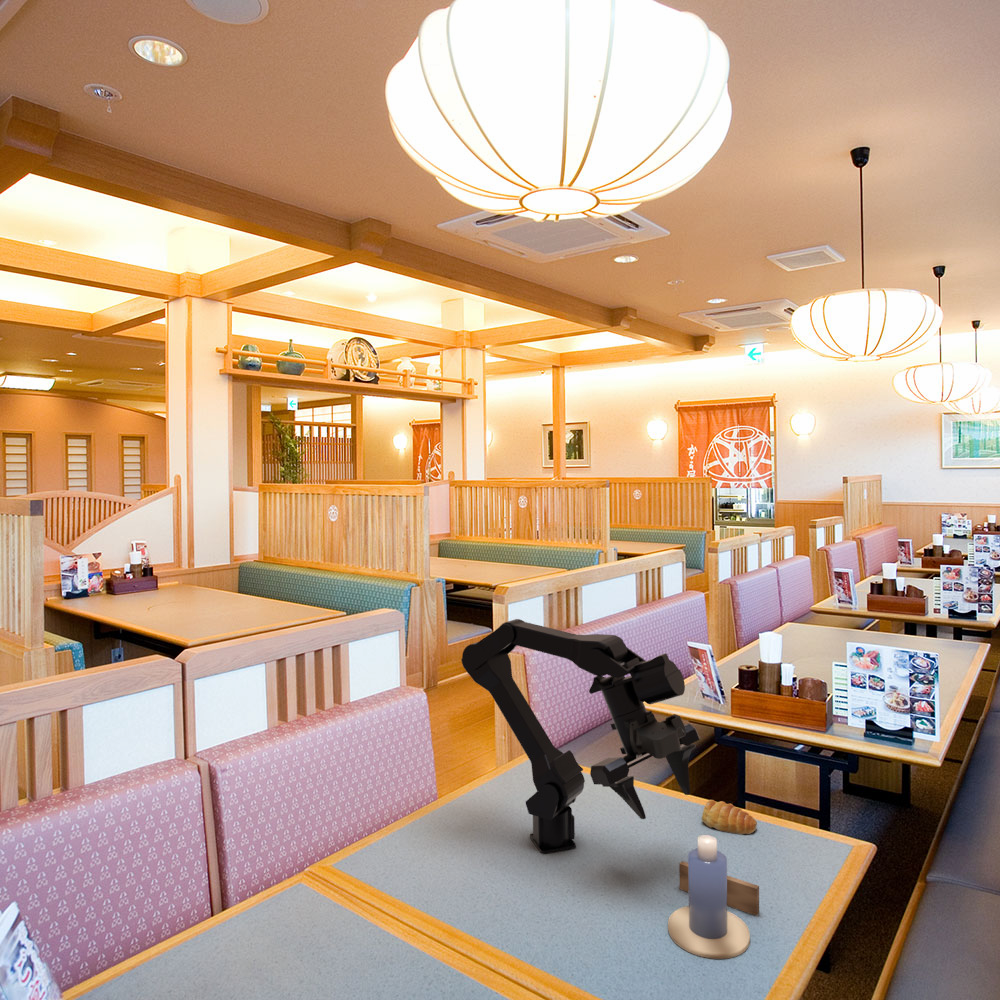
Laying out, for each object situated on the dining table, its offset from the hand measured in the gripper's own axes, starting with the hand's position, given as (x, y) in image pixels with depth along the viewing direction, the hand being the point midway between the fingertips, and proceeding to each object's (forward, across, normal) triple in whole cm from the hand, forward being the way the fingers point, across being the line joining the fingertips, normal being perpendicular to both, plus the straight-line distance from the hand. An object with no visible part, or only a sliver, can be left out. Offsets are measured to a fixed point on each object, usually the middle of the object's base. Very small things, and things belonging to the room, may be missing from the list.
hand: (666, 806), depth 117 cm
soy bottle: (+14, -6, -10) cm, 18 cm away
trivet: (+15, -7, -9) cm, 19 cm away
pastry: (+12, +19, +14) cm, 26 cm away
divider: (+14, 0, -4) cm, 15 cm away
